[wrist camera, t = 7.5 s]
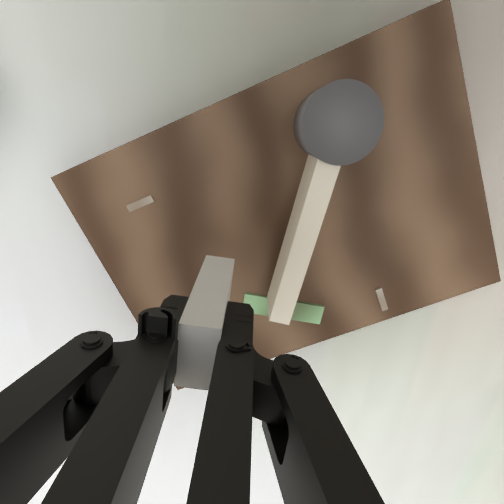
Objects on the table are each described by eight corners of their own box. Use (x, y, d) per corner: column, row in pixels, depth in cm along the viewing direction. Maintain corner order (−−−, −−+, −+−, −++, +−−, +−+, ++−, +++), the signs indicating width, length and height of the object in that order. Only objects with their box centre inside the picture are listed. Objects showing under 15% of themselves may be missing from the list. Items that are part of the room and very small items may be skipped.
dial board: (436, 5, 22) (452, -5, 20) (488, 273, 28) (503, 282, 26) (61, 174, 26) (48, 178, 24) (181, 378, 32) (176, 392, 30)
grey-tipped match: (304, 80, 22) (316, 68, 18) (369, 98, 22) (396, 91, 18) (248, 289, 27) (247, 319, 23) (302, 301, 27) (311, 333, 23)
